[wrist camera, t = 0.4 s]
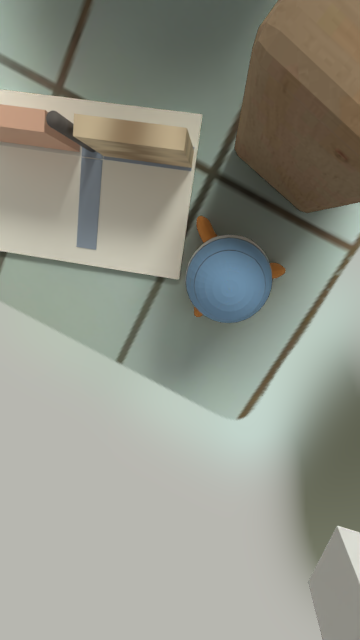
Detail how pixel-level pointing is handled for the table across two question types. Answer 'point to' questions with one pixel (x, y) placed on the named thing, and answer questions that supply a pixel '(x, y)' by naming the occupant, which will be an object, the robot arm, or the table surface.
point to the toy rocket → (228, 276)
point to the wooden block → (305, 103)
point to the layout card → (96, 195)
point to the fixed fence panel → (127, 138)
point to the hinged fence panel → (31, 129)
